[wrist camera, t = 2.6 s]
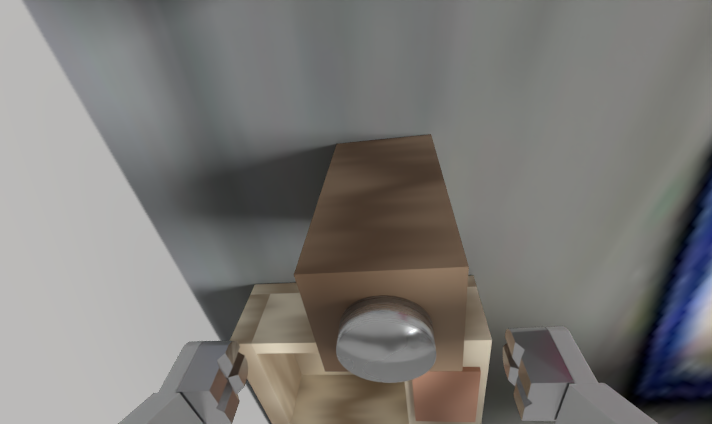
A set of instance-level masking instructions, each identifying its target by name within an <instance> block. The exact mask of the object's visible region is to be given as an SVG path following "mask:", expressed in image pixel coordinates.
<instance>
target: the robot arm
mask: <svg viewBox="0 0 712 424" xmlns="http://www.w3.org/2000/svg"><path fill="white" fill-rule="evenodd" d="M505 338H506V341H507V344H505V345H504V346H503V353H502V354H503V364H504V368H505V372H506V375H507V378H508V380H509V381H510V382H511V383H512V384H513V385H514V386H515V390H514V395H513V396H514V399H515V402H516V405H517V408H518V411H519V414H520V417H521V420H522V421H556V422H555V423H556V424H658V423H657V422H655V421H654V420H653V419H651V418H650V417H649V416H648V415H646V414H645V413H644V412H642V411H641V410H640V409H638V408H637V407H636V406H634V405H633V404H632V403H630V402H629V401H628V400H626V399H625V398H624V397H622V396H621V395H620V394H618V393H617V392H616V391H615V390H613V389H612V388H611V387H609V386H608V385H607V384H605V383H598V381H597V380H596V378H595V376H594V374H593V372H592V371H591V369H590V367H589V365H588V364H587V362H586V360H585V358H584V357H583V355H582V353H581V351H580V350H579V348H578V346H577V344H576V342H575V341H574V339H573V337H572V335H571V334H570V332H569V330H568V329H567V328H566V327H565V326H554V327H526V328H508V329H507V330H506V333H505ZM239 349H240V346H239V344H238V343H237V341H197V342H188V343H187V344H186V345H185V346H184V347H183V349H182V350H181V352H180V354H179V356H178V358H177V360H176V361H175V363H174V365H173V367H172V369H171V371H170V372H169V374H168V376H167V378H166V380H165V381H164V383H163V385H162V387H161V389H160V391H159V392H158V393H153V394H152V395H151V396H150V397H149V398H148V399H146V400H145V401H144V402H143V403H142V404H141V405H139V406H138V407H137V408H136V409H135V410H134V411H132V412H131V413H130V414H129V415H128V416H127V417H126V418H124V419H123V420H122V421H121V422H120V423H118V424H232V422H233V419H234V416H235V413H236V410H237V407H238V404H239V398H238V395H237V394H238V393H239V392H240V390H241V389H242V388H243V387H244V386H245V383H246V380H247V376H248V363H247V359H246V357H245V355H243V354H241V353H240V352H238V351H239Z"/></svg>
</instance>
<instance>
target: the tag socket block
mask: <svg viewBox="0 0 712 424" xmlns="http://www.w3.org/2000/svg"><path fill="white" fill-rule="evenodd" d="M230 341H237V343H238V344H239V346H240V349H239V351H238V352H240V353H241V354H243V355H245V357H246V359H247V363H248V376H247V379H248V381H249V383H250V385H251V386H252V388H253V390H254V392H255V394H256V395H257V397H258V399H259V401H260V403H261V405H262V406H263V408H264V410H265V412H266V414H267V415H268V417H269V419H270V421H271V423H272V424H481V421H482V414H483V406H484V398H485V391H486V383H487V376H488V368H489V360H490V353H491V345H492V338H491V335H490V331H489V328H488V324H487V321H486V317H485V314H484V311H483V307H482V304H481V300H480V297H479V293H478V290H477V286H476V283H475V280H474V276H468V286H467V303H466V319H465V336H464V353H463V370H462V371H428V372H426V373H425V374H423V375H422V376H420V377H418V378H415V379H412V380H409V381H404V382H397V383H382V382H375V381H370V380H366V379H364V378H361V377H358V376H356V375H354V374H353V373H351V372H325V370H324V367H323V363H322V360H321V357H320V354H319V351H318V348H317V345H316V342H315V339H314V336H313V332H312V329H311V326H310V323H309V320H308V317H307V314H306V311H305V308H304V305H303V301H302V298H301V295H300V292H299V289H298V286H297V283H277V284H255V285H254V288H253V290H252V292H251V294H250V297H249V299H248V301H247V303H246V305H245V308H244V310H243V312H242V314H241V317H240V319H239V321H238V323H237V325H236V328H235V330H234V332H233V334H232V337H231V339H230Z"/></svg>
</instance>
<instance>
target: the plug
mask: <svg viewBox="0 0 712 424" xmlns="http://www.w3.org/2000/svg"><path fill="white" fill-rule="evenodd" d="M468 269H469V266H468V263H467V259H466V256H465V252H464V249H463V245H462V242H461V238H460V235H459V231H458V228H457V224H456V221H455V217H454V214H453V210H452V207H451V203H450V200H449V196H448V193H447V189H446V186H445V182H444V179H443V175H442V172H441V168H440V165H439V161H438V157H437V154H436V150H435V147H434V143H433V140H432V136H431V134H430V135H420V136H410V137H400V138H390V139H380V140H370V141H360V142H350V143H340V144H337V145H336V148H335V151H334V154H333V157H332V160H331V163H330V166H329V169H328V172H327V175H326V178H325V181H324V184H323V187H322V190H321V193H320V196H319V199H318V203H317V206H316V209H315V212H314V215H313V218H312V221H311V224H310V227H309V230H308V233H307V236H306V239H305V242H304V245H303V248H302V251H301V254H300V257H299V260H298V264H297V267H296V270H295V273H294V277H295V280H296V283H297V286H298V289H299V292H300V295H301V298H302V301H303V305H304V308H305V311H306V314H307V317H308V320H309V323H310V326H311V329H312V332H313V336H314V339H315V342H316V345H317V348H318V351H319V354H320V357H321V360H322V363H323V367H324V370H325V372H351V373H353V374H354V375H356V376H358V377H361V378H364V379H366V380H370V381H375V382H382V383H397V382H404V381H409V380H412V379H415V378H418V377H420V376H422V375H423V374H425V373H426V372H428V371H462V370H463V353H464V336H465V319H466V303H467V286H468Z"/></svg>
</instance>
